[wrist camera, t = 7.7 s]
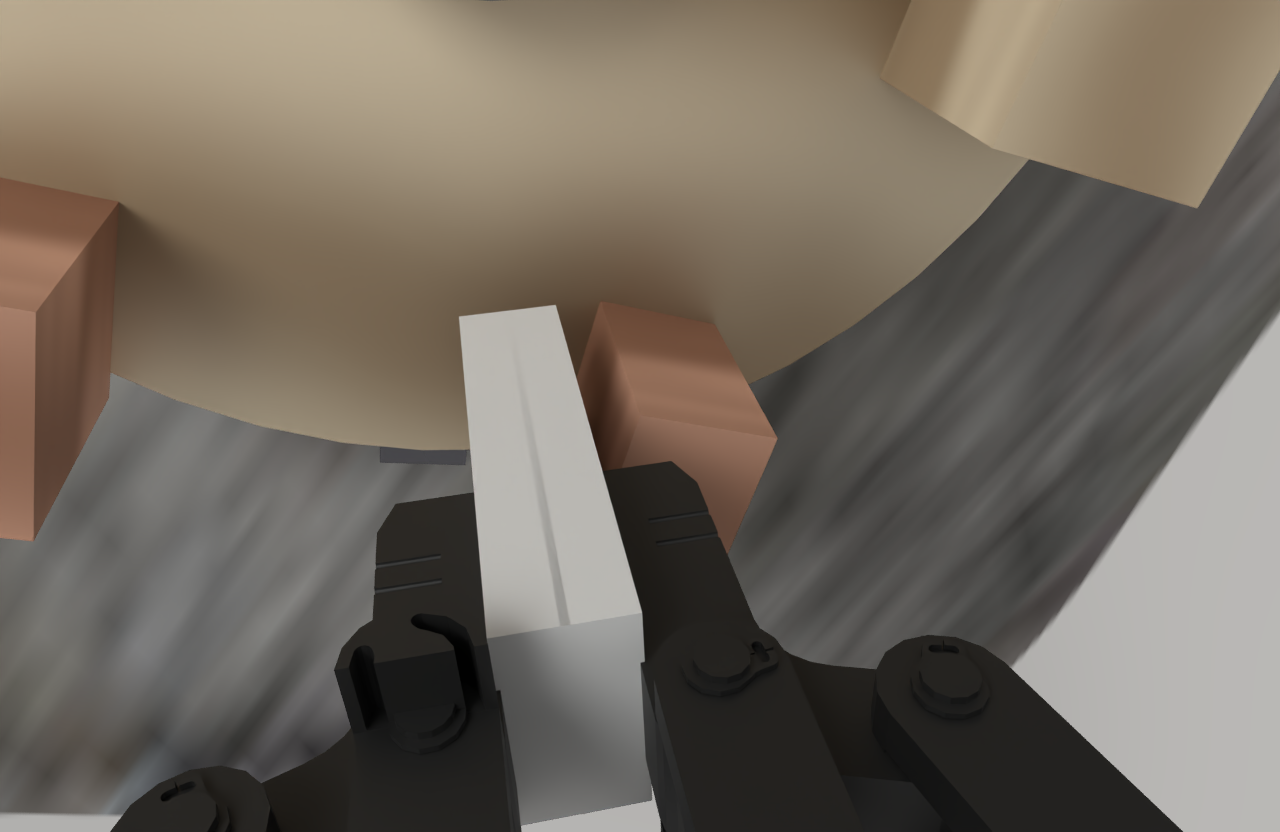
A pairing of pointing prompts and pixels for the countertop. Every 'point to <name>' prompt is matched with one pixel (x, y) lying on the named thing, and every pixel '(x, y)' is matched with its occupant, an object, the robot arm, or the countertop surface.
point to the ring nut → (538, 195)
